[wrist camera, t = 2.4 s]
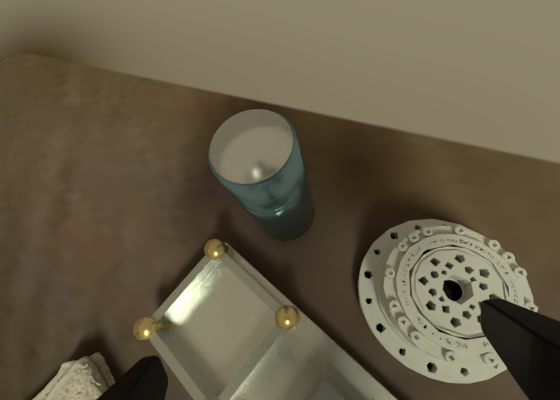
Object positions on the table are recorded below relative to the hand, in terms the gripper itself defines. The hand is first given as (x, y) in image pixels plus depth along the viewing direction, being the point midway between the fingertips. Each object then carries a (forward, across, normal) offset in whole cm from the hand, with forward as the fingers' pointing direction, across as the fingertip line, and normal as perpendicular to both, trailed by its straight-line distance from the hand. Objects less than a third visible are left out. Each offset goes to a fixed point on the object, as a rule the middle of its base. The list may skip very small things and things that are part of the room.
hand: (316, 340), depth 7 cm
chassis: (+8, +3, +10) cm, 14 cm away
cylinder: (+15, +1, +2) cm, 16 cm away
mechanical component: (+10, -8, +8) cm, 15 cm away
